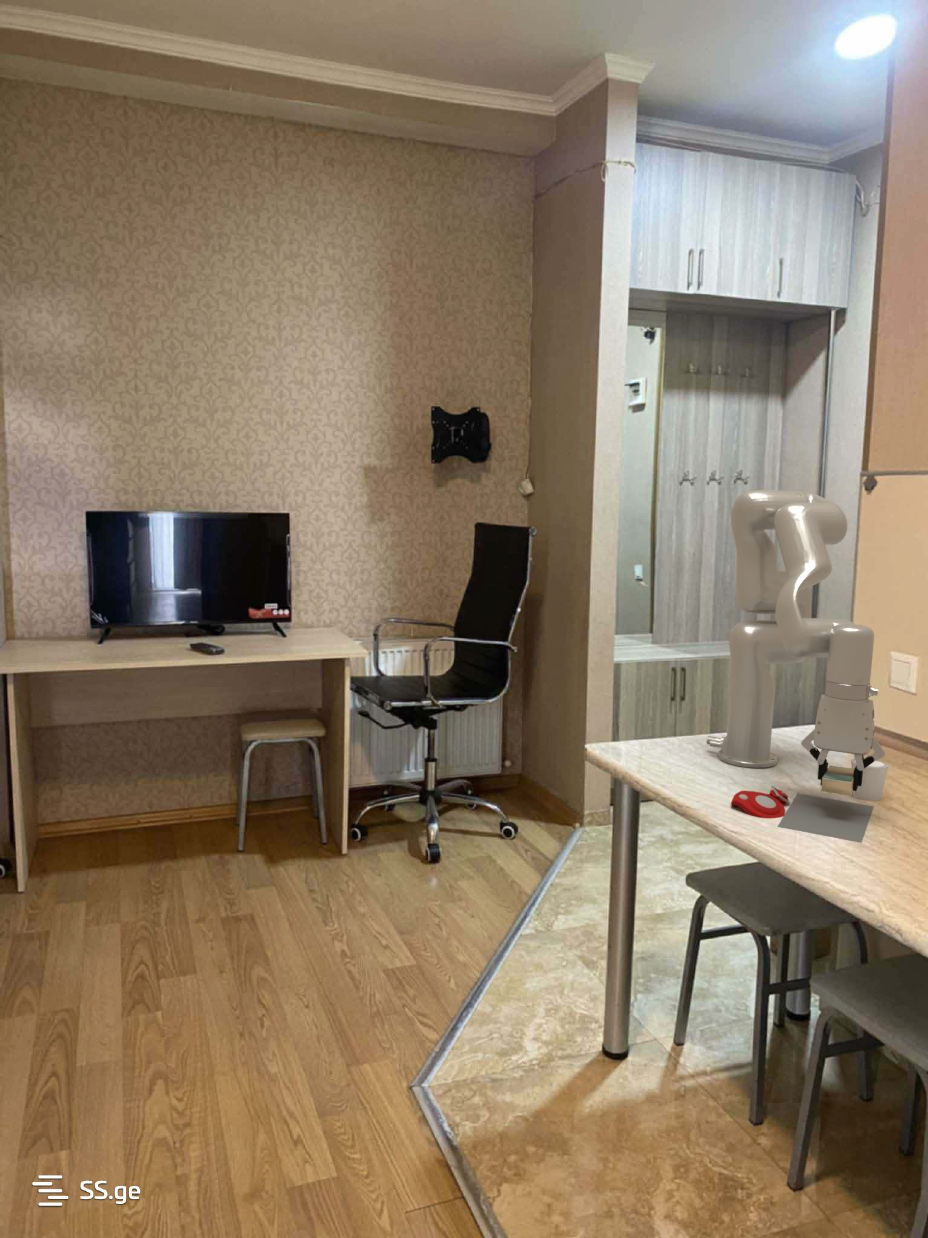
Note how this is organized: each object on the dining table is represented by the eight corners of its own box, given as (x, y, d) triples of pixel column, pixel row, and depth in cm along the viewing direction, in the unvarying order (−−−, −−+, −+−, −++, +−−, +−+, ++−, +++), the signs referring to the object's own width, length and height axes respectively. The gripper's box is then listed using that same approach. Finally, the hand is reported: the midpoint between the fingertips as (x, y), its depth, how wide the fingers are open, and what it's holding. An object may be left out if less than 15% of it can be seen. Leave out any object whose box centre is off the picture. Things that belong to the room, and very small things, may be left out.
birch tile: (828, 778, 185) (829, 764, 185) (856, 782, 183) (857, 768, 182) (821, 791, 176) (822, 777, 176) (850, 796, 174) (851, 781, 174)
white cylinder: (881, 804, 187) (885, 769, 186) (844, 797, 191) (848, 763, 190) (887, 795, 193) (890, 761, 192) (851, 788, 197) (854, 755, 196)
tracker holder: (785, 821, 173) (731, 799, 177) (778, 840, 175) (725, 818, 179) (795, 788, 184) (743, 768, 187) (787, 806, 186) (737, 787, 189)
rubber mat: (777, 829, 171) (777, 826, 171) (797, 796, 190) (797, 793, 190) (861, 845, 165) (861, 842, 165) (873, 809, 184) (873, 806, 184)
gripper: (898, 693, 176) (890, 789, 179) (802, 682, 184) (795, 774, 187) (895, 700, 170) (886, 800, 172) (795, 689, 178) (788, 784, 180)
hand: (839, 785), depth 179 cm, fingers closed on birch tile, 4 cm apart
